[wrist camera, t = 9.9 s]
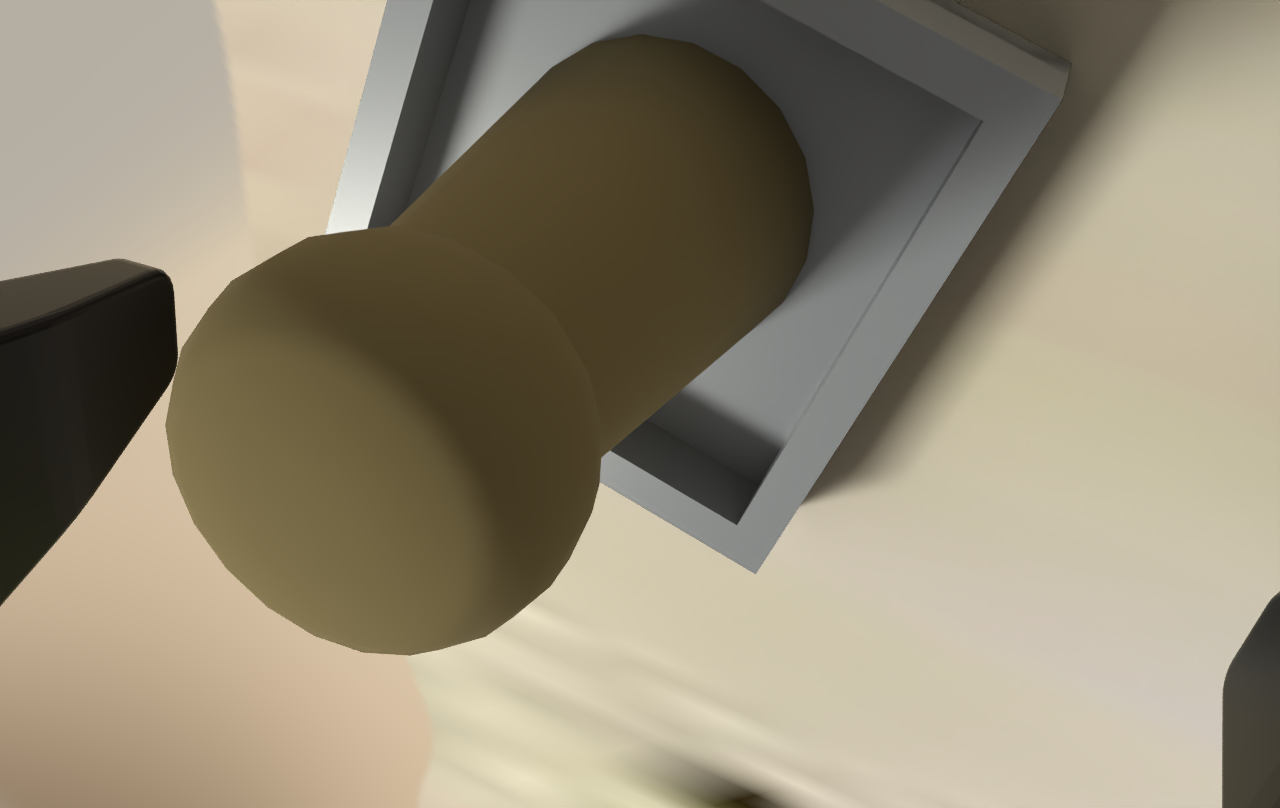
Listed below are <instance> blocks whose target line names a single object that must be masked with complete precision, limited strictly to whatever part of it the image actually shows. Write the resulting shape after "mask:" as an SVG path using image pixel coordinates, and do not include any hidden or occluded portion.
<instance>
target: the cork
mask: <svg viewBox="0 0 1280 808" xmlns="http://www.w3.org/2000/svg"><path fill="white" fill-rule="evenodd" d="M813 215H814V206H813V200H812V194H811V188H810V182H809V176H808V170H807V165H806V159H805V156H804V154H803V152H802V150H801V148H800V146H799V144H798V142H797V141H796V139H795V137H794V135H793V133H792V131H791V129H790V127H789V125H788V123H787V121H786V119H785V117H784V115H783V113H782V111H781V109H780V108H779V107H778V106H777V105H776V104H775V103H774V102H773V101H772V100H771V99H770V98H769V97H768V96H767V95H766V94H765V93H764V92H763V91H762V89H761V88H760V87H759V86H758V85H757V84H756V83H755V82H754V81H753V80H752V79H751V78H750V77H749V76H748V75H747V74H746V73H745V72H744V71H743V70H742V69H741V68H739V67H737V66H735V65H733V64H732V63H730V62H728V61H726V60H724V59H722V58H720V57H718V56H717V55H715V54H713V53H711V52H709V51H707V50H705V49H703V48H702V47H700V46H698V45H696V44H694V43H691V42H685V41H679V40H673V39H667V38H661V37H655V36H649V35H643V34H639V35H634V36H628V37H622V38H617V39H611V40H606V41H600V42H595V43H591V44H590V45H588V46H586V47H585V48H583V49H581V50H580V51H578V52H576V53H575V54H573V55H571V56H570V57H568V58H566V59H565V60H563V61H561V62H560V63H558V64H556V65H555V66H553V67H551V68H550V69H549V70H548V71H547V72H546V73H545V74H544V75H543V76H542V77H541V78H540V79H539V80H538V81H537V82H536V83H535V84H534V85H533V86H532V87H531V88H530V89H529V90H528V91H527V92H526V93H525V94H524V95H523V96H522V97H521V98H520V99H519V100H518V101H517V102H516V103H515V104H514V105H513V106H512V107H511V108H510V109H509V110H508V111H507V112H506V113H504V114H503V115H502V116H501V117H500V118H499V119H498V120H497V121H496V122H495V123H494V124H493V125H492V126H491V127H490V128H489V129H488V130H487V131H486V132H485V133H484V134H483V135H482V136H481V137H480V138H479V139H478V140H477V141H476V142H475V143H474V144H473V145H472V146H471V147H470V148H469V149H468V150H467V151H466V152H465V153H464V154H463V155H462V156H461V157H460V158H459V159H458V160H457V161H455V162H454V163H453V164H452V165H451V166H450V167H449V168H448V169H447V170H446V171H445V172H444V173H443V174H442V175H441V176H440V177H439V178H438V179H437V180H436V181H435V182H434V183H433V184H432V185H431V186H430V187H429V188H428V189H427V190H426V191H425V192H424V193H423V194H422V195H421V196H420V197H419V198H418V199H417V200H416V201H415V202H414V203H413V204H412V205H411V206H410V207H409V208H408V209H407V210H405V211H404V212H403V213H402V214H401V215H400V216H399V217H398V218H397V219H396V220H395V221H394V222H393V223H392V224H391V225H390V226H388V227H380V228H371V229H363V230H355V231H346V232H339V233H333V234H326V235H320V236H313V237H308V238H306V239H304V240H302V241H300V242H299V243H297V244H295V245H293V246H291V247H289V248H288V249H286V250H284V251H282V252H280V253H279V254H277V255H275V256H273V257H272V258H270V259H268V260H267V261H265V262H263V263H261V264H260V265H258V266H256V267H255V268H253V269H251V270H249V271H248V272H246V273H244V274H243V275H241V276H239V277H238V278H236V279H234V280H232V281H231V282H230V284H229V285H228V286H227V287H226V288H225V290H224V291H223V292H222V293H221V294H220V295H219V297H218V298H217V299H216V300H215V301H214V303H213V304H212V305H211V306H210V307H209V308H208V310H207V312H206V313H205V314H204V316H203V317H202V319H201V320H200V322H199V324H198V325H197V326H196V328H195V329H194V331H193V332H192V334H191V335H190V337H189V338H188V340H187V341H186V343H185V344H184V346H183V347H182V350H181V354H180V358H179V361H178V365H177V369H176V373H175V377H174V381H173V386H172V392H171V398H170V403H169V408H168V414H167V420H166V432H167V439H168V445H169V452H170V458H171V465H172V471H173V476H174V478H175V480H176V483H177V485H178V487H179V489H180V492H181V494H182V496H183V499H184V501H185V504H186V506H187V508H188V510H189V513H190V515H191V517H192V520H193V522H194V524H195V525H196V527H197V528H198V530H199V531H200V532H201V534H202V535H203V536H204V538H205V539H206V541H207V542H208V544H209V545H210V546H211V547H212V549H213V550H214V552H215V553H216V554H217V556H218V557H219V559H220V560H221V562H222V563H223V564H224V566H225V567H226V568H227V569H228V570H229V571H230V572H231V573H232V574H233V575H234V576H235V577H236V578H237V579H238V580H239V581H240V582H241V583H242V584H244V585H245V586H246V587H247V588H248V589H249V590H250V591H251V592H252V593H253V594H254V595H255V596H256V597H258V598H259V599H260V600H261V601H262V602H263V603H264V604H265V605H266V606H267V607H268V608H270V609H272V610H273V611H275V612H276V613H278V614H280V615H281V616H283V617H285V618H286V619H288V620H290V621H291V622H293V623H295V624H296V625H298V626H299V627H301V628H303V629H304V630H306V631H307V632H309V633H311V634H312V635H314V636H316V637H319V638H323V639H325V640H328V641H331V642H335V643H337V644H340V645H343V646H346V647H349V648H351V649H354V650H358V651H360V652H364V653H380V654H396V655H415V654H420V653H425V652H430V651H435V650H440V649H444V648H447V647H451V646H454V645H458V644H461V643H465V642H468V641H472V640H475V639H479V638H482V637H486V636H487V635H488V634H490V633H491V632H493V631H494V630H496V629H497V628H498V627H500V626H501V625H503V624H504V623H505V622H507V621H508V620H510V619H511V618H513V617H514V616H515V615H516V614H517V613H519V612H520V611H521V610H522V609H524V608H525V607H526V606H527V605H528V604H530V603H531V602H532V601H533V600H534V599H536V598H537V597H538V596H539V595H540V594H542V593H543V592H544V591H545V590H547V589H548V588H549V587H550V586H551V585H552V583H553V582H554V580H555V579H556V577H557V576H558V574H559V573H560V572H561V570H562V569H563V567H564V566H565V564H566V563H567V561H568V560H569V558H570V557H571V554H572V552H573V550H574V548H575V546H576V544H577V542H578V540H579V538H580V536H581V534H582V532H583V530H584V528H585V526H586V524H587V521H588V519H589V517H590V515H591V513H592V510H593V506H594V502H595V498H596V495H597V491H598V487H599V483H600V471H601V458H602V457H603V456H604V455H605V454H606V453H608V452H609V451H610V450H611V449H612V448H613V447H615V446H616V445H617V444H618V443H619V442H621V441H622V440H623V439H624V438H625V437H626V436H628V435H629V434H630V433H631V432H632V431H634V430H635V429H636V428H637V427H638V426H639V425H641V424H642V423H643V422H644V421H645V420H646V419H648V418H649V417H650V416H651V415H652V414H654V413H655V412H656V411H657V410H658V409H659V408H661V407H662V406H663V405H664V404H665V403H667V402H668V401H669V400H670V399H671V398H672V397H674V396H675V395H676V394H677V393H678V392H680V391H681V390H682V389H683V388H684V387H685V386H687V385H688V384H689V383H690V382H691V381H693V380H694V379H695V378H696V377H697V376H698V375H700V374H701V373H702V372H703V371H704V370H706V369H707V368H708V367H709V366H710V365H711V364H713V363H714V362H715V361H716V360H717V359H719V358H720V357H721V356H722V355H723V354H724V353H726V352H727V351H728V350H729V349H730V348H731V347H733V346H734V345H735V344H736V343H737V342H739V341H740V340H741V339H742V338H743V337H744V336H746V335H747V334H748V333H749V332H750V331H751V330H753V329H754V328H755V327H756V326H757V325H758V324H759V323H760V322H762V321H763V320H764V319H765V318H766V317H767V316H768V315H769V314H771V313H772V312H773V311H774V310H775V309H776V308H777V307H778V306H780V305H781V304H782V303H783V302H784V301H785V299H786V297H787V295H788V293H789V291H790V289H791V288H792V286H793V284H794V282H795V280H796V278H797V276H798V275H799V273H800V271H801V269H802V267H803V265H804V263H805V262H806V259H807V253H808V247H809V240H810V234H811V227H812V221H813Z"/></svg>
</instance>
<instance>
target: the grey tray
mask: <svg viewBox="0 0 1280 808" xmlns="http://www.w3.org/2000/svg"><path fill="white" fill-rule="evenodd" d="M639 34H643V35H649V36H655V37H661V38H667V39H673V40H679V41H685V42H691V43H694V44H696V45H698V46H700V47H702V48H703V49H705V50H707V51H709V52H711V53H713V54H715V55H717V56H718V57H720V58H722V59H724V60H726V61H728V62H730V63H732V64H733V65H735V66H737V67H739V68H741V69H742V70H743V71H744V72H745V73H746V74H747V75H748V76H749V77H750V78H751V79H752V80H753V81H754V82H755V83H756V84H757V85H758V86H759V87H760V88H761V89H762V91H763V92H764V93H765V94H766V95H767V96H768V97H769V98H770V99H771V100H772V101H773V102H774V103H775V104H776V105H777V106H778V107H779V108H780V109H781V111H782V113H783V115H784V117H785V119H786V121H787V123H788V125H789V127H790V129H791V131H792V133H793V135H794V137H795V139H796V141H797V142H798V144H799V146H800V148H801V150H802V152H803V154H804V156H805V159H806V165H807V170H808V176H809V182H810V188H811V194H812V200H813V206H814V215H813V221H812V227H811V234H810V240H809V247H808V253H807V259H806V262H805V263H804V265H803V267H802V269H801V271H800V273H799V275H798V276H797V278H796V280H795V282H794V284H793V286H792V288H791V289H790V291H789V293H788V295H787V297H786V299H785V301H784V302H783V303H782V304H781V305H780V306H778V307H777V308H776V309H775V310H774V311H773V312H772V313H771V314H769V315H768V316H767V317H766V318H765V319H764V320H763V321H762V322H760V323H759V324H758V325H757V326H756V327H755V328H754V329H753V330H751V331H750V332H749V333H748V334H747V335H746V336H744V337H743V338H742V339H741V340H740V341H739V342H737V343H736V344H735V345H734V346H733V347H731V348H730V349H729V350H728V351H727V352H726V353H724V354H723V355H722V356H721V357H720V358H719V359H717V360H716V361H715V362H714V363H713V364H711V365H710V366H709V367H708V368H707V369H706V370H704V371H703V372H702V373H701V374H700V375H698V376H697V377H696V378H695V379H694V380H693V381H691V382H690V383H689V384H688V385H687V386H685V387H684V388H683V389H682V390H681V391H680V392H678V393H677V394H676V395H675V396H674V397H672V398H671V399H670V400H669V401H668V402H667V403H665V404H664V405H663V406H662V407H661V408H659V409H658V410H657V411H656V412H655V413H654V414H652V415H651V416H650V417H649V418H648V419H646V420H645V421H644V422H643V423H642V424H641V425H639V426H638V427H637V428H636V429H635V430H634V431H632V432H631V433H630V434H629V435H628V436H626V437H625V438H624V439H623V440H622V441H621V442H619V443H618V444H617V445H616V446H615V447H613V448H612V449H611V450H610V451H609V452H608V453H606V454H605V455H604V456H603V457H602V458H601V471H600V482H601V483H603V484H604V485H606V486H608V487H609V488H611V489H613V490H614V491H616V492H618V493H620V494H621V495H623V496H625V497H626V498H628V499H630V500H631V501H633V502H635V503H636V504H638V505H640V506H641V507H643V508H645V509H647V510H648V511H650V512H652V513H653V514H655V515H657V516H658V517H660V518H662V519H663V520H665V521H667V522H668V523H670V524H672V525H674V526H675V527H677V528H679V529H680V530H682V531H684V532H685V533H687V534H689V535H690V536H692V537H694V538H695V539H697V540H699V541H701V542H702V543H704V544H706V545H707V546H709V547H711V548H712V549H714V550H716V551H717V552H719V553H721V554H722V555H724V556H726V557H728V558H729V559H731V560H733V561H734V562H736V563H738V564H739V565H741V566H743V567H744V568H746V569H748V570H749V571H751V572H753V573H755V574H756V573H757V571H758V570H759V568H760V567H761V565H762V564H763V562H764V561H765V559H766V558H767V556H768V554H769V553H770V551H771V550H772V548H773V547H774V545H775V544H776V542H777V540H778V539H779V537H780V536H781V534H782V533H783V531H784V530H785V528H786V527H787V525H788V523H789V522H790V520H791V519H792V517H793V516H794V514H795V513H796V511H797V509H798V508H799V506H800V505H801V503H802V502H803V500H804V499H805V497H806V496H807V494H808V492H809V491H810V489H811V488H812V486H813V485H814V483H815V482H816V480H817V479H818V477H819V475H820V474H821V472H822V471H823V469H824V468H825V466H826V465H827V463H828V461H829V460H830V458H831V457H832V455H833V454H834V452H835V451H836V449H837V448H838V446H839V444H840V443H841V441H842V440H843V438H844V437H845V435H846V434H847V432H848V430H849V429H850V427H851V426H852V424H853V423H854V421H855V420H856V418H857V417H858V415H859V413H860V412H861V410H862V409H863V407H864V406H865V404H866V403H867V401H868V400H869V398H870V396H871V395H872V393H873V392H874V390H875V389H876V387H877V386H878V384H879V382H880V381H881V379H882V378H883V376H884V375H885V373H886V372H887V370H888V369H889V367H890V365H891V364H892V362H893V361H894V359H895V358H896V356H897V355H898V353H899V352H900V350H901V348H902V347H903V345H904V344H905V342H906V341H907V339H908V338H909V336H910V334H911V333H912V331H913V330H914V328H915V327H916V325H917V324H918V322H919V321H920V319H921V317H922V316H923V314H924V313H925V311H926V310H927V308H928V307H929V305H930V303H931V302H932V300H933V299H934V297H935V296H936V294H937V293H938V291H939V290H940V288H941V286H942V285H943V283H944V282H945V280H946V279H947V277H948V276H949V274H950V273H951V271H952V269H953V268H954V266H955V265H956V263H957V262H958V260H959V259H960V257H961V255H962V254H963V252H964V251H965V249H966V248H967V246H968V245H969V243H970V242H971V240H972V238H973V237H974V235H975V234H976V232H977V231H978V229H979V228H980V226H981V225H982V223H983V221H984V220H985V218H986V217H987V215H988V214H989V212H990V211H991V209H992V207H993V206H994V204H995V203H996V201H997V200H998V198H999V197H1000V195H1001V194H1002V192H1003V190H1004V189H1005V187H1006V186H1007V184H1008V183H1009V181H1010V180H1011V178H1012V176H1013V175H1014V173H1015V172H1016V170H1017V169H1018V167H1019V166H1020V164H1021V163H1022V161H1023V159H1024V158H1025V156H1026V155H1027V153H1028V152H1029V150H1030V149H1031V147H1032V146H1033V144H1034V142H1035V141H1036V139H1037V138H1038V136H1039V135H1040V133H1041V132H1042V130H1043V128H1044V127H1045V125H1046V124H1047V122H1048V121H1049V119H1050V118H1051V116H1052V115H1053V113H1054V111H1055V110H1056V108H1057V107H1058V105H1059V104H1060V102H1061V101H1062V98H1063V95H1064V91H1065V87H1066V83H1067V80H1068V76H1069V72H1070V69H1071V65H1072V64H1071V63H1069V62H1068V61H1066V60H1064V59H1062V58H1060V57H1058V56H1056V55H1054V54H1052V53H1051V52H1049V51H1047V50H1045V49H1043V48H1041V47H1039V46H1037V45H1036V44H1034V43H1032V42H1030V41H1028V40H1026V39H1024V38H1022V37H1021V36H1019V35H1017V34H1015V33H1013V32H1011V31H1009V30H1007V29H1005V28H1004V27H1002V26H1000V25H998V24H996V23H994V22H992V21H990V20H989V19H987V18H985V17H983V16H981V15H979V14H977V13H975V12H973V11H972V10H970V9H968V8H966V7H964V6H962V5H960V4H958V3H957V2H955V1H953V0H387V3H386V7H385V11H384V15H383V18H382V22H381V26H380V30H379V33H378V37H377V41H376V45H375V49H374V52H373V56H372V60H371V64H370V67H369V71H368V75H367V79H366V82H365V86H364V90H363V94H362V98H361V101H360V105H359V109H358V113H357V116H356V120H355V124H354V128H353V132H352V135H351V139H350V143H349V147H348V150H347V154H346V158H345V162H344V165H343V169H342V173H341V177H340V181H339V184H338V188H337V192H336V196H335V199H334V203H333V207H332V211H331V214H330V218H329V222H328V226H327V230H326V233H325V235H326V234H333V233H339V232H346V231H355V230H363V229H371V228H380V227H388V226H390V225H391V224H392V223H393V222H394V221H395V220H396V219H397V218H398V217H399V216H400V215H401V214H402V213H403V212H404V211H405V210H407V209H408V208H409V207H410V206H411V205H412V204H413V203H414V202H415V201H416V200H417V199H418V198H419V197H420V196H421V195H422V194H423V193H424V192H425V191H426V190H427V189H428V188H429V187H430V186H431V185H432V184H433V183H434V182H435V181H436V180H437V179H438V178H439V177H440V176H441V175H442V174H443V173H444V172H445V171H446V170H447V169H448V168H449V167H450V166H451V165H452V164H453V163H454V162H455V161H457V160H458V159H459V158H460V157H461V156H462V155H463V154H464V153H465V152H466V151H467V150H468V149H469V148H470V147H471V146H472V145H473V144H474V143H475V142H476V141H477V140H478V139H479V138H480V137H481V136H482V135H483V134H484V133H485V132H486V131H487V130H488V129H489V128H490V127H491V126H492V125H493V124H494V123H495V122H496V121H497V120H498V119H499V118H500V117H501V116H502V115H503V114H504V113H506V112H507V111H508V110H509V109H510V108H511V107H512V106H513V105H514V104H515V103H516V102H517V101H518V100H519V99H520V98H521V97H522V96H523V95H524V94H525V93H526V92H527V91H528V90H529V89H530V88H531V87H532V86H533V85H534V84H535V83H536V82H537V81H538V80H539V79H540V78H541V77H542V76H543V75H544V74H545V73H546V72H547V71H548V70H549V69H550V68H551V67H553V66H555V65H556V64H558V63H560V62H561V61H563V60H565V59H566V58H568V57H570V56H571V55H573V54H575V53H576V52H578V51H580V50H581V49H583V48H585V47H586V46H588V45H590V44H591V43H595V42H600V41H606V40H611V39H617V38H622V37H628V36H634V35H639Z"/></svg>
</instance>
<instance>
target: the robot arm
mask: <svg viewBox="0 0 1280 808" xmlns="http://www.w3.org/2000/svg"><path fill="white" fill-rule="evenodd" d="M177 358H178V348H177V333H176V317H175V301H174V291H173V284H172V282H171V279H170V277H169V276H168V275H167V274H166V273H165V272H164V271H163V270H161V269H157V268H154V267H151V266H147V265H144V264H140V263H136V262H132V261H129V260H126V259H112V260H107V261H102V262H97V263H91V264H87V265H81V266H76V267H71V268H66V269H61V270H56V271H51V272H45V273H40V274H35V275H30V276H24V277H20V278H14V279H9V280H4V281H0V606H1V605H2V604H3V602H4V601H5V600H6V599H7V598H8V597H9V596H10V595H11V593H12V592H13V591H14V590H15V589H16V588H17V587H18V585H19V584H20V583H21V582H22V581H23V580H24V578H25V577H26V576H27V575H28V574H29V573H30V572H31V570H32V569H33V568H34V567H35V566H36V565H37V564H38V562H39V561H40V560H41V559H42V558H43V557H44V555H45V554H46V553H47V552H48V551H49V550H50V548H51V547H52V546H53V545H54V544H55V543H56V542H57V540H58V539H59V538H60V537H61V536H62V534H63V533H64V532H65V531H66V530H67V528H68V527H69V526H70V525H71V524H72V522H73V521H74V520H75V519H76V517H77V516H78V515H79V514H80V512H81V511H82V509H83V508H84V507H85V505H86V504H87V503H88V501H89V500H90V498H91V497H92V496H93V495H94V493H95V492H96V490H97V489H98V487H99V486H100V485H101V483H102V481H103V480H104V479H105V477H106V476H107V474H108V473H109V471H110V470H111V469H112V467H113V465H114V464H115V463H116V461H117V460H118V458H119V457H120V455H121V454H122V452H123V451H124V450H125V448H126V447H127V445H128V444H129V442H130V441H131V439H132V438H133V437H134V435H135V434H136V432H137V431H138V429H139V428H140V426H141V425H142V423H143V422H144V421H145V419H146V418H147V416H148V415H149V413H150V412H151V410H152V409H153V408H154V406H155V405H156V403H157V402H158V400H159V399H160V397H161V396H162V394H163V393H164V392H165V390H166V389H167V387H168V386H169V384H170V382H171V380H172V378H173V376H174V373H175V370H176V366H177ZM1222 808H1280V592H1279V593H1277V594H1276V595H1275V596H1274V597H1273V598H1272V599H1271V600H1270V602H1269V603H1268V605H1267V606H1266V608H1265V609H1264V611H1263V612H1262V614H1261V616H1260V617H1259V619H1258V620H1257V622H1256V624H1255V625H1254V627H1253V628H1252V630H1251V632H1250V633H1249V635H1248V636H1247V638H1246V640H1245V641H1244V643H1243V644H1242V646H1241V648H1240V649H1239V651H1238V652H1237V654H1236V656H1235V657H1234V659H1233V660H1232V662H1231V664H1230V666H1229V669H1228V671H1227V674H1226V677H1225V681H1224V687H1223V722H1222Z"/></svg>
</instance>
